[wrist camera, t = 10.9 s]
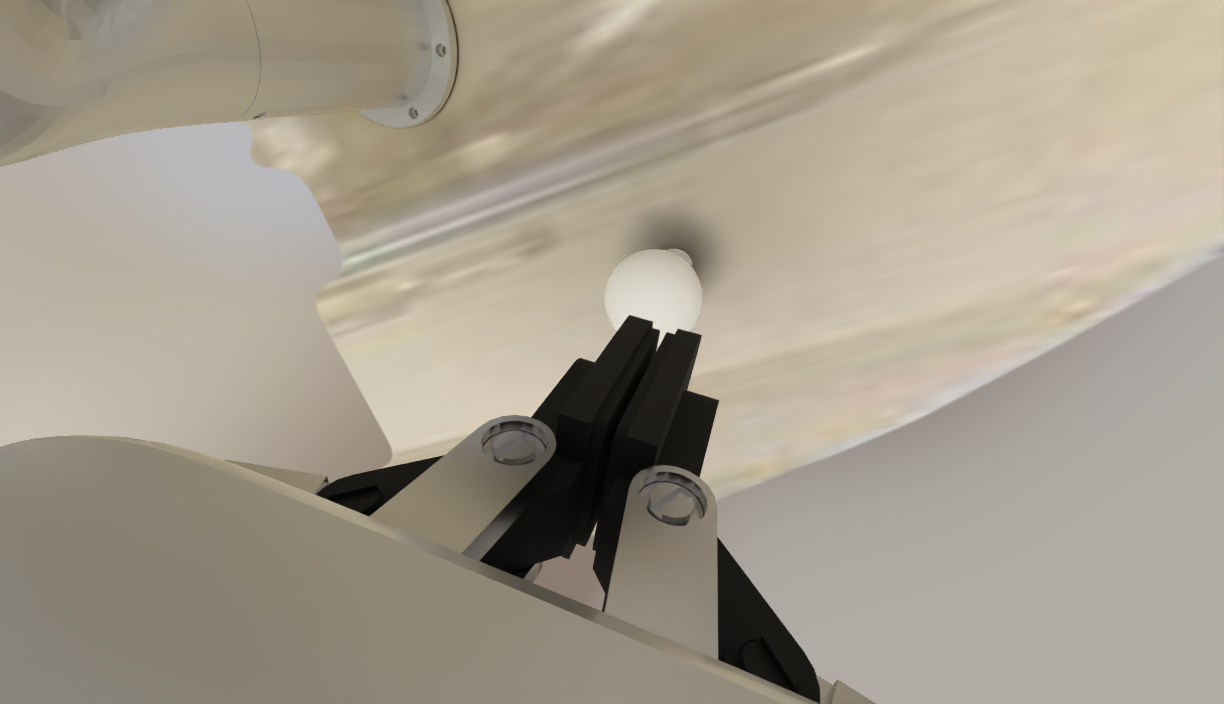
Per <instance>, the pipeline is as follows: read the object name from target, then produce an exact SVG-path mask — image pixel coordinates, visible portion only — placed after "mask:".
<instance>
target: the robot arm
mask: <svg viewBox="0 0 1224 704" xmlns="http://www.w3.org/2000/svg"><path fill="white" fill-rule="evenodd" d="M456 67H457V43H456V35H455V28H454V24H453V21H452V17H451V13H450V9H449V7H448V5H447V2H446V0H0V167H1V166H5V165H10V164H14V163H17V162H22V161H26V160H29V159H32V158H36V157H39V156H42V155H45V154H49V153H52V152H55V151H59V150H63V149H66V148H69V147H72V146H76V145H80V144H84V143H88V142H92V141H96V140H99V139H104V138H109V137H114V136H118V135H123V134H129V133H135V132H141V131H148V130H155V129H162V128H171V127H179V126H189V125H199V124H211V123H222V122H236V121H247V120H259V119H270V118H282V117H293V116H304V115H316V114H327V113H339V112H350V111H357V112H359V113H360V114H361V115H362V116H364V117H365V118H367V119H369V120H371V121H372V122H374V123H376V124H379V125H382V126H385V127H391V128H407V127H413V126H416V125H420V124H423V123H424V122H426V121H428V120H429V119H431V118H433V117H434V116H435V115H436V114H437V113H438V112H439V110H440V109H441V108H442V107H443V105H444V103H445V102H446V100H447V99H448V97H449V94H450V92H451V89H452V86H453V83H454V79H455V73H456ZM659 335H660V330H658V329H654V328H653V321H649V320H646V319H642V318H639V317H635V316H631V315H629V316H628V317H627V318H626V320H625V321H624V322H623V324H622V325H621V327H620V328H619V329H618V331H617V332H616V334H615V335H614V336H613V338H612V339H611V341H610V342H609V343H608V345H607V346H606V348H605V349H604V350H603V352H602V353H601V355H600V356H599V357H598V359H597V360H596V362H592V361H588V360H585V359H582V358H579V359H577V360H576V361H575V362H574V364H573V365H572V366H571V367H570V369H569V370H568V371H567V373H566V374H565V375H564V376H563V378H562V379H561V380H560V381H559V383H558V384H557V385H556V387H555V388H554V389H553V390H552V392H551V393H550V394H549V395H548V397H547V398H546V399H545V401H544V402H543V403H542V404H541V406H540V407H539V408H538V409H537V411H536V412H535V413H534V415H533V416H532V417H531V418H530V417H527V416H518V415H511V416H502V417H499V418H495V419H492V420H490V421H488V422H487V423H485V424H483V425H482V426H480V427H479V428H478V429H477V430H475V431H474V432H473V433H472V434H471V435H469V436H468V437H467V438H466V439H464V440H463V441H462V442H461V443H459V444H458V445H457V446H456V447H454V448H453V449H452V450H451V451H450V452H448V453H447V454H446V455H444V456H439V457H434V458H430V459H425V460H420V461H415V462H411V463H406V464H401V465H397V466H392V467H387V468H383V469H378V470H373V471H368V472H364V473H360V474H355V475H351V476H348V477H344V478H341V479H338V480H336V481H334V482H333V483H329V482H328V477H327V476H324V475H317V474H310V473H305V472H299V471H292V470H286V469H280V468H273V467H268V466H261V465H255V464H249V463H242V462H236V461H230V460H221V459H218V458H215V457H212V456H209V455H206V454H203V453H199V452H196V451H193V450H189V449H185V448H180V447H176V446H172V445H168V444H164V443H159V442H152V441H146V440H139V439H132V438H126V437H113V436H112V437H111V436H86V435H85V436H83V435H81V436H80V435H79V436H58V437H57V436H56V437H47V438H36V439H30V440H25V441H20V442H16V443H12V444H9V445H6V446H3V447H0V704H876V703H874V702H872V701H871V700H869V699H868V698H866V697H864V696H863V695H861V694H860V693H858V692H857V691H855V690H853V689H852V688H850V687H848V686H847V685H846V684H844V683H842V682H841V681H839V680H837V681H836V682H835V684H834V685H831V684H830V683H828V682H827V681H825V680H824V679H822V678H820V677H819V676H817V675H816V673H815V670H814V668H813V666H812V665H811V663H810V661H809V660H808V658H807V656H806V655H805V653H804V651H803V650H802V649H801V647H800V646H799V645H798V643H797V642H796V641H795V639H794V638H793V637H792V635H791V634H790V633H789V631H787V629H786V627H785V626H784V625H783V623H782V622H781V621H780V620H779V618H778V617H777V615H776V614H775V613H774V611H773V610H772V609H771V608H770V606H769V605H768V604H767V602H766V601H765V599H764V598H763V597H762V596H761V594H760V593H759V592H758V590H757V589H756V587H755V586H754V585H753V584H752V582H751V581H750V579H749V578H748V577H747V575H746V574H745V573H744V572H743V570H742V569H741V567H740V566H739V565H738V564H737V562H736V561H735V560H734V558H733V557H732V556H731V555H730V553H729V552H728V550H727V549H726V548H725V546H724V545H723V544H722V542H721V541H720V540H719V538H718V537H717V505H716V500H715V496H714V495H713V493H712V491H711V490H710V488H709V486H708V485H707V484H706V483H705V482H704V481H702V480H701V479H700V478H699V477H700V473H701V469H702V465H703V461H704V457H705V453H706V450H707V446H708V442H709V438H710V434H711V430H712V426H713V422H714V418H715V414H716V410H717V406H718V402H719V400H716V399H713V398H710V397H706V396H703V395H700V394H697V393H693V392H690V391H687V389H688V385H689V381H690V378H691V374H692V370H693V367H694V363H695V359H696V356H697V352H698V348H699V345H700V341H701V336H702V335H699V334H696V333H692V332H688V331H685V330H681V329H677V331H676V333H675V334H672V333H669V332H667V333H666V334H665V336H664V338H663V340H662V342H661V344H660V346H659V348H658V350H657V352H656V349H657V345H658V340H659ZM596 523H597V527H596V532H595V538H594V543H593V550H594V551H596V555H595V559H594V565H593V570H594V572H595V574H596V576H597V578H598V580H599V582H600V584H601V586H602V588H603V590H604V592H605V597H604V602H603V607H602V611H599V610H596V609H594V608H592V607H590V606H587V605H585V604H582V603H579V602H577V601H575V600H572V599H570V598H568V597H565V596H563V595H560V594H558V593H555V592H553V591H550V590H548V589H545V588H543V587H541V586H538V585H536V584H533V582H534V581H535V579H536V578H537V577H538V575H539V573H540V571H541V569H542V567H543V561H546V560H549V559H552V558H555V557H558V556H562V557H564V558H567V559H569V558H570V556H571V554H572V552H573V550H574V547H575V546H576V544H579V545H581V546H584V547H585V546H586V544H587V542H588V540H589V538H590V536H591V534H592V531H593V529H594V527H595V525H596Z"/></svg>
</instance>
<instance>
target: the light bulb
mask: <svg viewBox="0 0 1224 704" xmlns="http://www.w3.org/2000/svg"><path fill="white" fill-rule="evenodd" d="M692 264H693V262H692V260H691V258H690V256H689V255H688V254H687V253H686V252H685V251H683V250H680V249H668V250H666V251H665V250H658V249H649V250H642V251H639V252H636V253H634V254H632V255H630V256H629V257H627V258H625V259H624V260H623V261H622V262H620V263H619V264H618V265H617V266H616V268H615V269H614V271H613V272H612V274H611V275H610V277H609V280H608V282H607V285H606V290H605V308H606V312H607V315H608V317H609V320H610V322H611V324H612V325H613V327H614V328H615V330H616V331H618V329H619V328H620V327H621V325H622V324H623V322H624V321H625V320H626V318H627V317H628V316H629V315H631V316H635V317H639V318H642V319H646V320H649V321H653V328H654V329H658V330H660V335H659V340H658V345H657V347H659V346H660V344H661V342H662V340H663V338H664V336H665V334H666V333H667V332H669V333H672V334H675V333H676V331H677V329H681V330H685V331H688V332H689V331H690V330H691V329H692V328H693V327H694V325H695V323H696V322H697V320H698V318H699V316H700V312H701V309H702V301H703V293H702V286H701V284H700V281H699V278H698V276H697V274H696V273H695V271H694V269H693V268H692Z"/></svg>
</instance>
